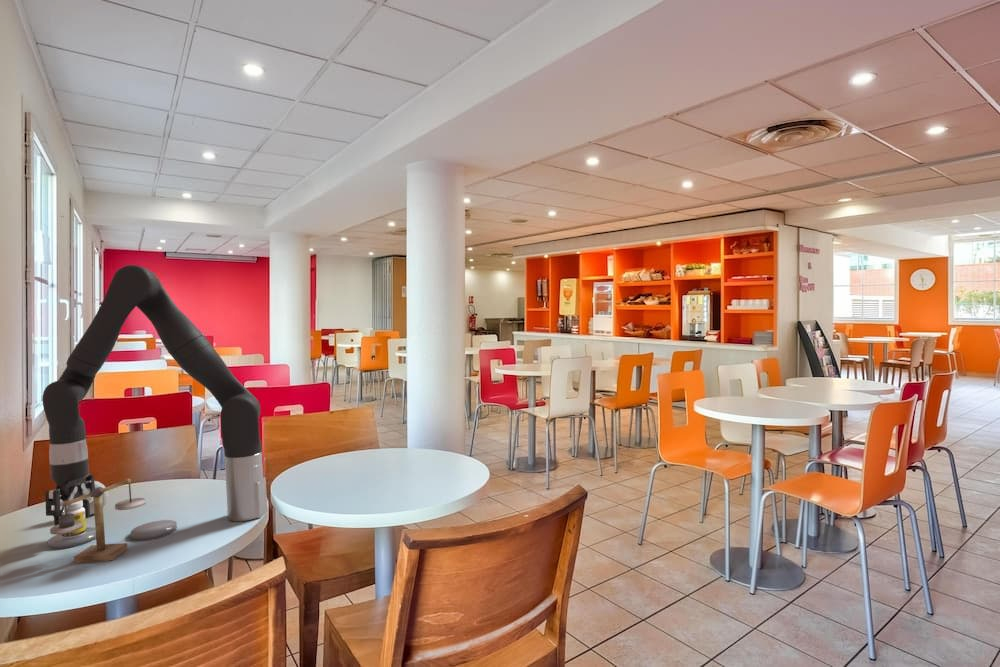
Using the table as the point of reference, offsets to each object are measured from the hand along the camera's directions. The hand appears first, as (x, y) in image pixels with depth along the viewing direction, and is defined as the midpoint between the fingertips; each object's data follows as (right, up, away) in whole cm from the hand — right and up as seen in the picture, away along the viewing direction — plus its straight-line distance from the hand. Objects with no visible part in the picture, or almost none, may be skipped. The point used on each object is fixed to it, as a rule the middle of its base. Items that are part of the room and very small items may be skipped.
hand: (73, 523), depth 136 cm
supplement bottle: (0, -3, 0) cm, 3 cm away
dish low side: (0, -4, 0) cm, 4 cm away
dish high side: (+18, -4, +4) cm, 19 cm away
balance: (+14, -4, -10) cm, 18 cm away
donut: (-9, -4, +17) cm, 20 cm away
